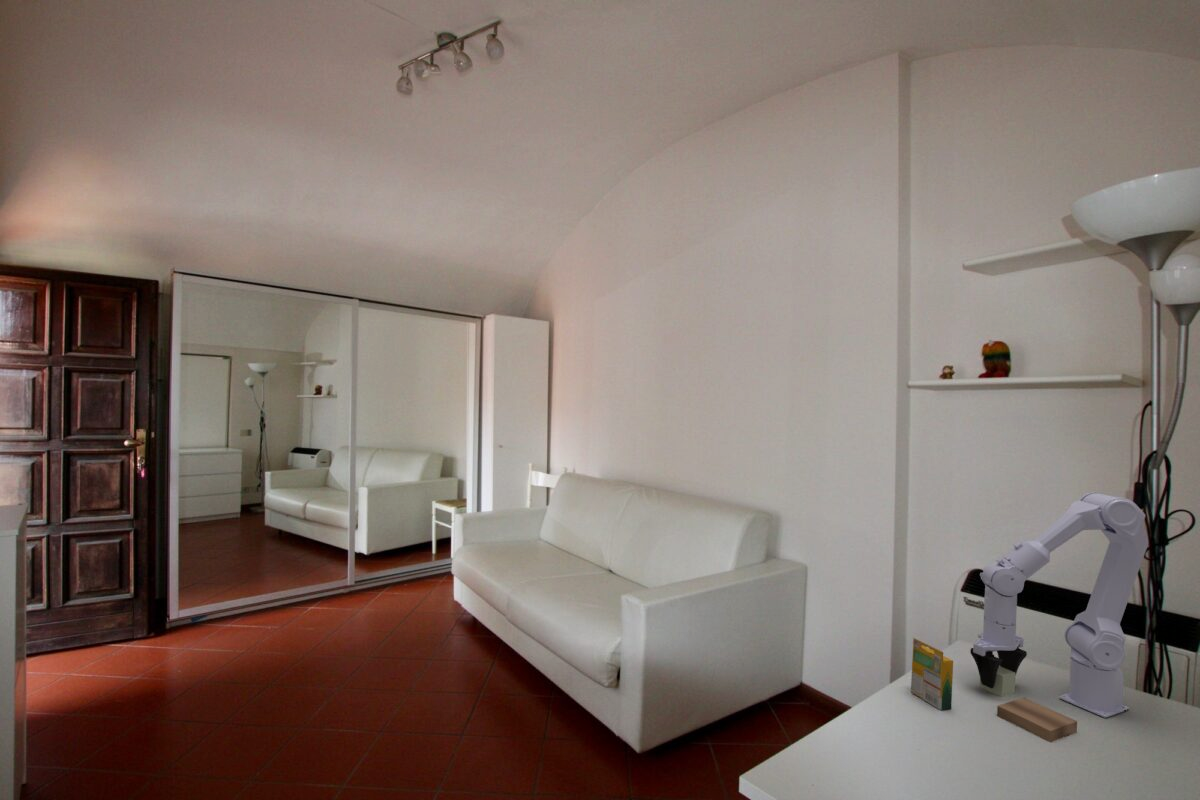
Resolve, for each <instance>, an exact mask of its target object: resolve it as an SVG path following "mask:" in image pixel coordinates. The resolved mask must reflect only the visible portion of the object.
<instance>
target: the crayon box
mask: <svg viewBox="0 0 1200 800" xmlns="http://www.w3.org/2000/svg"><path fill="white" fill-rule="evenodd" d="M912 639H913V641H912V643H913V644H912V645H913V647H912V660H911V661H912V662H911V664H912V665H911V680H910V681H911V682H910V683H911V684H910V693H911V694H912V695H914V696H917V697H918V698H920V699H922V700H923V701H925V702H927V703H928V704H930V705H931V706H933V707H934V708H936V709H938V710H939V711H945V710H951V709H952V700H953V679H954V678H953V676H954V672H953V671H954V660H953V659H952V658H951V659H950V658H948V657H946V656H944V652H943V651H942V650H940V649H937V648H935V647H934V646H932V645H929V644H928V643H926V642H923V641H921V640H919V639H917V638H915V637H913V638H912Z"/></svg>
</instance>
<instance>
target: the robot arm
mask: <svg viewBox="0 0 1200 800" xmlns="http://www.w3.org/2000/svg"><path fill="white" fill-rule="evenodd" d="M1145 519H1146V514H1145V512H1143V510H1142V509H1141V508H1140V507H1139V506H1138V504H1136V503H1135V502H1134V501H1133V500H1131V499H1128V498H1125V497H1119V496H1113V495H1108V494H1105V493H1103V492H1097V491H1092V492H1091V491H1090V492H1088V493H1085V494H1083V495H1082V496H1081V497H1080V499H1079V500H1076V501H1074V502H1072V503H1071V505H1070V506H1069V508H1068V509H1067V510H1066V512H1064V513H1063V514H1062V515H1061V516H1060V517H1059V518H1058V519H1057V520H1056V521H1055V522H1053V523H1052V524H1051V525H1050V526H1049V527H1047V529H1045V530H1044V531H1043V533H1041V534H1040V535H1039V536H1038V537H1037V538H1035V539H1034V540H1023V541H1021V542H1019V541H1017V542H1015V543H1014V544H1013V547H1014V548H1012V549H1011V550H1010V551H1009V552H1008V553H1006V555H1004V556H1003V557H998V558H997V559H996V562H993V563H992V562H991V563H989V564H987V565H986V566H984V568H983V569H982V571H983V572H980V573H979V576H980V580H982V582H983V584H984V587H985V588H984V599H983V600H984V602H983V629H982V630H983V631H982V632H981V633H978V634H977V638H979V639H978V640H977V642H974V643H973V645H972V646H973V647H971V648H970V651H969V652H970V655H971V656H972V658H973V659H974V662H975V665H976V667H977V670H978V674H979V677H980V678H979V680H980V679H981V683H982V684H983V685H985V686H987V687H989V688H993V687H994V685H995V680H996V674H997V670H998V668H999V666H1000V667H1003V668H1005V669H1008V670H1010V671H1012V672H1015V677H1016V676H1017V673H1018V669H1019V667H1020V666H1021V664H1022V662H1023V660H1024V659H1025V658H1027V654H1028V653H1027V651H1026V650H1025V649H1021V648H1024V638H1023V637H1020V636H1019V635H1017V612H1018V611H1017V609H1018V608H1017V607H1018V605H1017V604H1018V594H1020V593H1022V591H1023V590H1024V586H1025V582H1026V581H1027V580H1028V579H1029V578H1031V577H1032V576H1033V575H1034V574H1036V573H1037V572H1038V571H1039V570H1041V569H1042V568H1043V567H1045V566H1046V565H1047V564H1049V563H1050V561H1051V560H1050V559H1051V556H1050V555H1051V553H1052V552H1054V551H1055V550H1056V549H1058V548H1059V547H1060V546H1063V545H1064V543H1067V542H1068V541H1069V540H1070V539H1072V538H1074V537H1075V536H1077V535H1078V534H1080V533H1082V531H1090V530H1091V531H1094V530H1095V531H1096V530H1097V531H1098V530H1100V531H1101V532H1102V534H1103V535H1104V536H1105V537H1106V539H1107V540H1108V542H1109V543H1108V546H1107V549H1106V552H1105V554H1104V557H1103V561H1102V562H1101V566H1100V568H1099V572H1098V575H1097V578H1096V580H1095V583H1094V587H1093V588H1092V592H1091V594H1090V597H1089V600H1088V603H1087V607H1086V609H1085V610H1083V611H1082V612H1080V613H1077V614H1076V616H1075V618H1074V620H1073V622H1072V623H1071V624H1069V625H1068V626H1067V627H1066V628H1065V630H1064V640H1065V642H1066V643H1067V645H1068V646H1069V647H1070V655H1069V656H1070V658H1069V680H1068V681H1069V682H1068V683H1069V684H1068V685H1069V686H1068V688H1069V689H1068V690H1069V691H1068V692H1067V693H1065V694H1062V695H1061V694H1060V695H1059V699H1060V700H1063V701H1065V702H1067V703H1070V704H1072V705H1074V706H1077V707H1079V708H1081V709H1084V710H1086V711H1089V712H1090V713H1092V714H1095V715H1098V716H1100V717H1102V718H1110V717H1111V716H1115V715H1117V714H1120V713H1123V712H1125V711H1124V710H1126V711H1128V710H1127V709H1129V708H1130V707H1129V706H1127V705H1124V685H1125V684H1124V683H1125V682H1124V681H1125V677H1124V673H1123V671H1122V670H1121V669H1120V667H1121V666H1122V665H1123V664H1124V663H1125V661H1126V652H1125V642H1126V635H1125V634H1124V632H1123V629H1122V626H1121V622H1122V619H1123V616H1124V613H1125V610H1126V607H1127V605H1128V602H1129V599H1130V598H1131V597H1130V596H1131V593H1132V591H1133V588H1134V585H1135V582H1136V579H1137V576H1138V575H1139V571H1140V568H1141V565H1142V562H1143V559H1144V557H1145V555H1146V551H1147V548H1148V545H1149V543H1148V542H1149V540H1148V537H1147V533H1146V528H1145V524H1144V521H1145ZM994 652H996V654H997V656H995V654H994ZM1129 710H1130V709H1129Z"/></svg>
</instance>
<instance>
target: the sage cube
mask: <svg viewBox="0 0 1200 800" xmlns="http://www.w3.org/2000/svg"><path fill="white" fill-rule="evenodd" d="M979 687H980V688H981V689H983V690H986V691H988V692H991V693H993V694H995V695H996V696H999V697H1001V698H1003V697H1006V696H1010V695H1015V692H1016V676H1015V672H1012V671H1010V670H1008V669H1005V668H1003V667H1000V666H999V668H998V670H997V674H996V680H995V685H994V687H993V688H989V687H987V686H985V685H983V684H982V683H981V679H980V678H979Z"/></svg>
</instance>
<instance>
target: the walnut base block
mask: <svg viewBox="0 0 1200 800" xmlns="http://www.w3.org/2000/svg"><path fill="white" fill-rule="evenodd" d="M996 707H997V709H996V712H997V713H996V716H997V717H998V718H1001V719H1002V720H1004V721H1007V722H1008V723H1010V724H1013V725H1015V726H1017V727H1019V728H1021V729H1023V730H1024V731H1027V732H1029V733H1031V734H1033V735H1036V736H1037V737H1039V738H1041V739H1043V740H1046V741H1047V742H1049V743H1052V742H1055V741H1057V740H1060V739H1063V738H1065V737H1067V736H1071V735H1073V734H1076V733H1077V732H1078V721H1077V720H1075V719H1073V718H1071V717H1069V716H1066V715H1064V714H1062V713H1059V712H1057V711H1055V710H1053V709H1050V708H1048V707H1046V706H1044V705H1042V704H1039V703H1037V702H1036V701H1032V700H1030V699H1028V698H1026V697H1021V698H1018V699H1015V700H1011V701H1009V702H1005V703H1002V704H998V705H997V706H996Z"/></svg>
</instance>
